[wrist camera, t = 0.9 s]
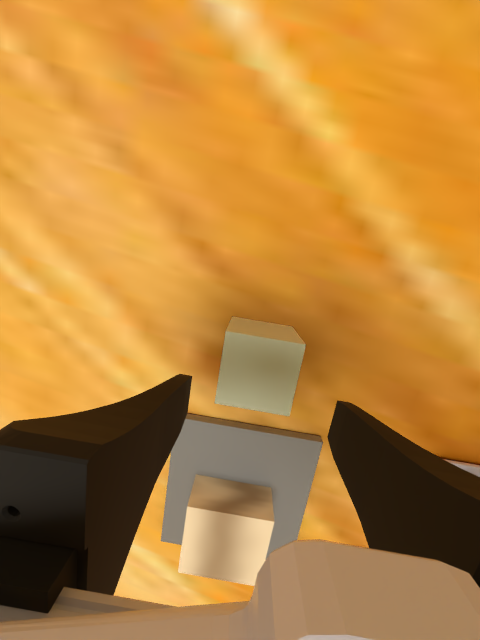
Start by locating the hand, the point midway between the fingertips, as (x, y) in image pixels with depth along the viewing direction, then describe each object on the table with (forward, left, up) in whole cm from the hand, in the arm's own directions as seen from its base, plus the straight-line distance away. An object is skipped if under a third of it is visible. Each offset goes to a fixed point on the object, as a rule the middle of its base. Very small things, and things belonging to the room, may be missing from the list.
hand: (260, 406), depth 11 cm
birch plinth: (0, +16, -8) cm, 18 cm away
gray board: (-1, +14, -8) cm, 16 cm away
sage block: (0, 0, -9) cm, 9 cm away
